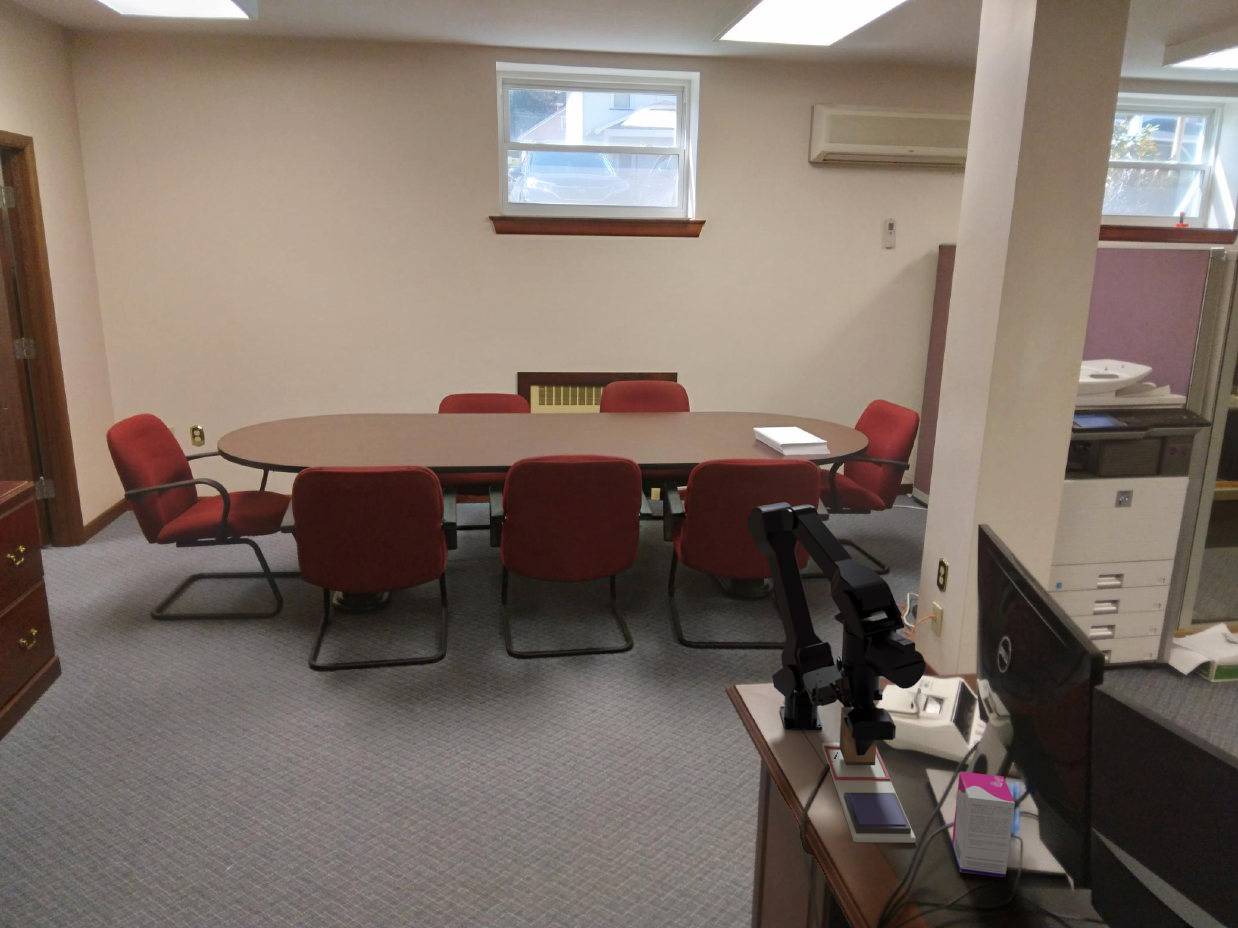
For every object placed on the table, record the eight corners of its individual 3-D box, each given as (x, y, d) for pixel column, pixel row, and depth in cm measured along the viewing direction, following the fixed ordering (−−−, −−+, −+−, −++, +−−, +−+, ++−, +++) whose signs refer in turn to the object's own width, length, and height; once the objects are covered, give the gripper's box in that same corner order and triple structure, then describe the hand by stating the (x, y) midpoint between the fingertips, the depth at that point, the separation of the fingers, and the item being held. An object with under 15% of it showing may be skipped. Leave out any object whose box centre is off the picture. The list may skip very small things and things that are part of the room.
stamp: (839, 747, 127) (841, 707, 125) (867, 747, 127) (869, 707, 125) (845, 765, 123) (847, 723, 121) (875, 765, 122) (877, 723, 120)
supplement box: (1007, 878, 102) (1016, 803, 99) (959, 872, 103) (966, 798, 100) (996, 846, 108) (1004, 774, 105) (950, 841, 109) (956, 769, 106)
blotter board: (822, 746, 131) (822, 736, 130) (873, 746, 130) (874, 736, 130) (853, 841, 109) (854, 830, 109) (915, 842, 109) (916, 830, 108)
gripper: (797, 628, 129) (795, 712, 133) (820, 689, 111) (816, 783, 115) (866, 628, 129) (861, 711, 133) (899, 688, 111) (893, 783, 115)
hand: (856, 745), depth 124 cm, fingers closed on stamp, 4 cm apart
